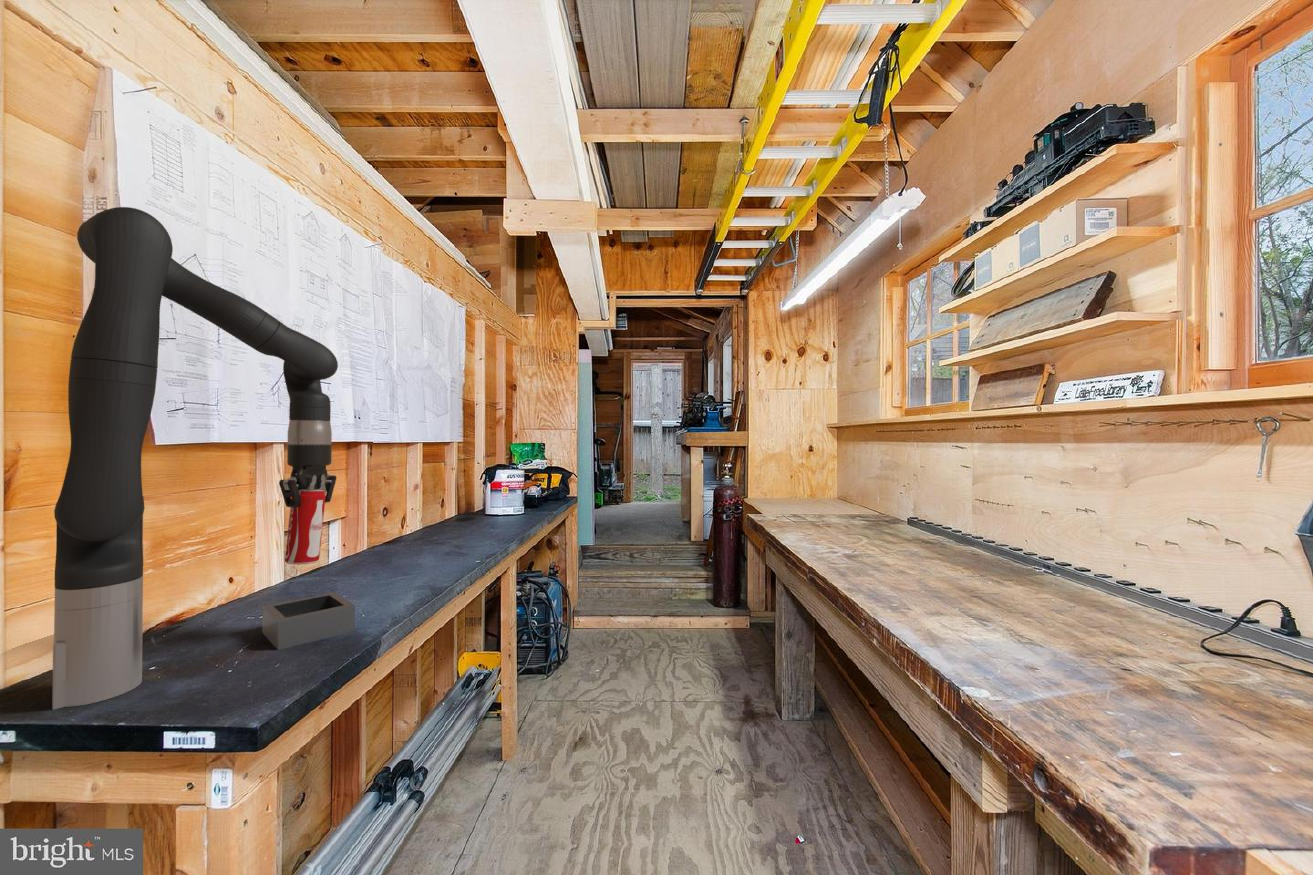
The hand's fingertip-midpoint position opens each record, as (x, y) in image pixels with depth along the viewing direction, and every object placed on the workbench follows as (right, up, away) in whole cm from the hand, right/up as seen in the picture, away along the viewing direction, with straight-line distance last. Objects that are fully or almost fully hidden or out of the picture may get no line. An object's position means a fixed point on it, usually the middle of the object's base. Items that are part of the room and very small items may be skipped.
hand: (309, 525), depth 104 cm
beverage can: (0, -7, -2) cm, 8 cm away
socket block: (0, -23, 0) cm, 23 cm away
